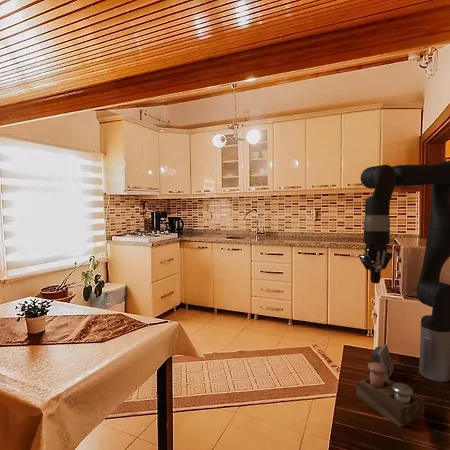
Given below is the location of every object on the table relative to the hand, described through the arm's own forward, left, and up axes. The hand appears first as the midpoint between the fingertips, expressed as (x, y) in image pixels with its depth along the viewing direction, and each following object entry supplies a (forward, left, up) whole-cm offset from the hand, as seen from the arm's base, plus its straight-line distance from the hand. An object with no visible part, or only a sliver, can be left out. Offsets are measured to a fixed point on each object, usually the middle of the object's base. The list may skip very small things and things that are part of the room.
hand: (375, 282), depth 104 cm
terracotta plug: (+4, +5, -32) cm, 33 cm away
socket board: (+4, +9, -35) cm, 36 cm away
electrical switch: (-11, -5, -35) cm, 37 cm away
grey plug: (+4, +13, -35) cm, 37 cm away
